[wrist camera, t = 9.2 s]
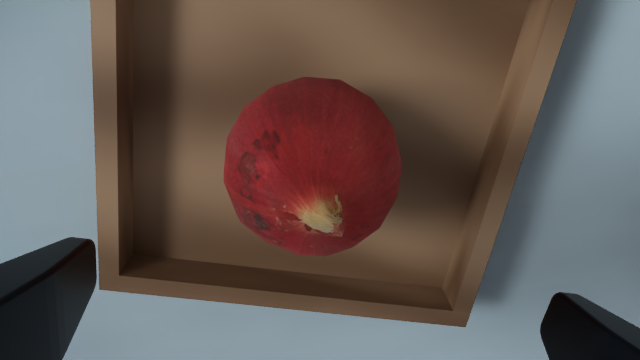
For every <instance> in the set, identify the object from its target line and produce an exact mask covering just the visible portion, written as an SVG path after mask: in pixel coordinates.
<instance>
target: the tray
mask: <svg viewBox="0 0 640 360" xmlns="http://www.w3.org/2000/svg"><path fill="white" fill-rule="evenodd" d="M576 1H577V0H90V4H91V36H92V68H93V100H94V131H95V163H96V195H97V227H98V259H99V290H109V291H118V292H128V293H138V294H148V295H157V296H167V297H177V298H186V299H196V300H206V301H216V302H225V303H235V304H245V305H255V306H264V307H274V308H284V309H294V310H303V311H313V312H323V313H332V314H342V315H352V316H362V317H371V318H381V319H391V320H401V321H410V322H420V323H430V324H440V325H449V326H459V327H466V324H467V321H468V318H469V316H470V313H471V310H472V307H473V304H474V301H475V298H476V295H477V292H478V289H479V286H480V283H481V280H482V277H483V274H484V271H485V269H486V266H487V263H488V260H489V257H490V254H491V251H492V248H493V245H494V242H495V239H496V236H497V233H498V230H499V227H500V224H501V221H502V219H503V216H504V213H505V210H506V207H507V204H508V201H509V198H510V195H511V192H512V189H513V186H514V183H515V180H516V177H517V174H518V172H519V169H520V166H521V163H522V160H523V157H524V154H525V151H526V148H527V145H528V142H529V139H530V136H531V133H532V130H533V127H534V125H535V122H536V119H537V116H538V113H539V110H540V107H541V104H542V101H543V98H544V95H545V92H546V89H547V86H548V83H549V80H550V78H551V75H552V72H553V69H554V66H555V63H556V60H557V57H558V54H559V51H560V48H561V45H562V42H563V39H564V36H565V33H566V31H567V28H568V25H569V22H570V19H571V16H572V13H573V10H574V7H575V4H576ZM301 77H315V78H327V79H339V80H342V81H344V82H345V83H347V84H349V85H350V86H352V87H354V88H356V89H357V90H359V91H361V92H362V93H364V94H366V95H367V96H369V97H371V98H372V99H373V100H374V101H375V103H376V104H377V105H378V107H379V108H380V109H381V111H382V112H383V113H384V115H385V116H386V118H387V119H388V120H389V122H390V123H391V124H392V126H393V128H394V132H395V136H396V140H397V144H398V147H399V151H400V155H401V162H402V169H401V176H400V183H399V190H398V197H397V199H396V200H395V202H394V204H393V206H392V207H391V209H390V211H389V213H388V215H387V216H386V218H385V220H384V222H383V223H382V225H381V227H380V228H379V229H378V230H376V231H375V232H373V233H372V234H371V235H369V236H368V237H367V238H365V239H364V240H362V241H361V242H360V243H358V244H357V245H356V246H354V247H352V248H350V249H347V250H344V251H341V252H338V253H335V254H332V255H329V256H299V255H296V254H294V253H292V252H289V251H287V250H285V249H282V248H280V247H277V246H274V245H271V244H268V243H266V242H265V241H264V240H262V239H261V238H260V237H259V236H257V235H256V234H255V233H254V232H252V231H251V230H250V229H249V228H247V227H246V226H245V225H244V224H242V223H241V222H240V220H239V218H238V216H237V214H236V212H235V209H234V207H233V204H232V202H231V199H230V197H229V194H228V192H227V189H226V187H225V184H224V163H225V151H226V142H227V136H228V135H229V133H230V131H231V129H232V128H233V126H234V124H235V122H236V120H237V119H238V117H239V115H240V113H241V112H242V110H243V108H244V107H245V106H246V105H248V104H249V103H250V102H252V101H253V100H254V99H256V98H257V97H259V96H260V95H261V94H263V93H264V92H265V91H267V90H268V89H269V88H271V87H273V86H274V85H278V84H281V83H285V82H289V81H292V80H295V79H298V78H301Z"/></svg>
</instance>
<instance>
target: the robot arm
mask: <svg viewBox="0 0 640 360" xmlns="http://www.w3.org/2000/svg"><path fill="white" fill-rule="evenodd" d="M96 277H97V276H96V249H95V244H94V242H93V241H92V240H90V239H84V238H75V237H69V238H66V239H63V240H61V241H58V242H56V243H53V244H50V245H48V246H45V247H43V248H40V249H38V250H35V251H32V252H30V253H27V254H25V255H22V256H19V257H17V258H14V259H12V260H9V261H6V262H4V263H1V264H0V360H62V359H63V357H64V355H65V353H66V351H67V349H68V346H69V344H70V342H71V340H72V338H73V335H74V333H75V331H76V329H77V326H78V324H79V322H80V320H81V318H82V315H83V313H84V311H85V309H86V307H87V304H88V302H89V300H90V298H91V296H92V293H93V291H94V288H95V285H96ZM540 333H541V338H542V341H543V344H544V346H545V349H546V352H547V355H548V357H549V360H640V328H638V327H636V326H635V325H633V324H631V323H629V322H627V321H626V320H624V319H622V318H620V317H618V316H616V315H615V314H613V313H611V312H609V311H607V310H606V309H604V308H602V307H600V306H598V305H597V304H595V303H593V302H591V301H589V300H587V299H586V298H584V297H582V296H580V295H578V294H572V293H563V292H559V293H556V294H555V295H554V296H553V297H552V299H551V301H550V304H549V306H548V309H547V311H546V313H545V316H544V318H543V321H542V323H541V328H540Z"/></svg>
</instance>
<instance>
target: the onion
mask: <svg viewBox="0 0 640 360" xmlns="http://www.w3.org/2000/svg"><path fill="white" fill-rule="evenodd" d="M401 169H402V162H401V155H400V151H399V147H398V144H397V140H396V136H395V132H394V128H393V126H392V124H391V123H390V122H389V120H388V119H387V118H386V116H385V115H384V113H383V112H382V111H381V109H380V108H379V107H378V105H377V104H376V103H375V101H374V100H373V99H372V98H371V97H369V96H367V95H366V94H364V93H362V92H361V91H359V90H357V89H356V88H354V87H352V86H350V85H349V84H347V83H345V82H344V81H342V80H339V79H327V78H315V77H301V78H298V79H295V80H292V81H289V82H285V83H281V84H278V85H274V86H273V87H271V88H269V89H268V90H267V91H265V92H264V93H263V94H261V95H260V96H259V97H257V98H256V99H254V100H253V101H252V102H250V103H249V104H248V105H246V106H245V107H244V108H243V110H242V112H241V113H240V115H239V117H238V119H237V120H236V122H235V124H234V126H233V128H232V129H231V131H230V133H229V135H228V136H227V142H226V151H225V163H224V184H225V187H226V189H227V192H228V194H229V197H230V199H231V202H232V204H233V207H234V209H235V212H236V214H237V216H238V218H239V220H240V222H241V223H242V224H244V225H245V226H246V227H247V228H249V229H250V230H251V231H252V232H254V233H255V234H256V235H257V236H259V237H260V238H261V239H262V240H264V241H265V242H266V243H268V244H271V245H274V246H277V247H280V248H282V249H285V250H287V251H289V252H292V253H294V254H296V255H299V256H329V255H332V254H335V253H338V252H341V251H344V250H347V249H350V248H352V247H354V246H356V245H357V244H358V243H360V242H361V241H362V240H364V239H365V238H367V237H368V236H369V235H371V234H372V233H373V232H375V231H376V230H378V229H379V228H380V227H381V225H382V223H383V222H384V220H385V218H386V216H387V215H388V213H389V211H390V209H391V207H392V206H393V204H394V202H395V200H396V199H397V197H398V190H399V183H400V176H401Z"/></svg>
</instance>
